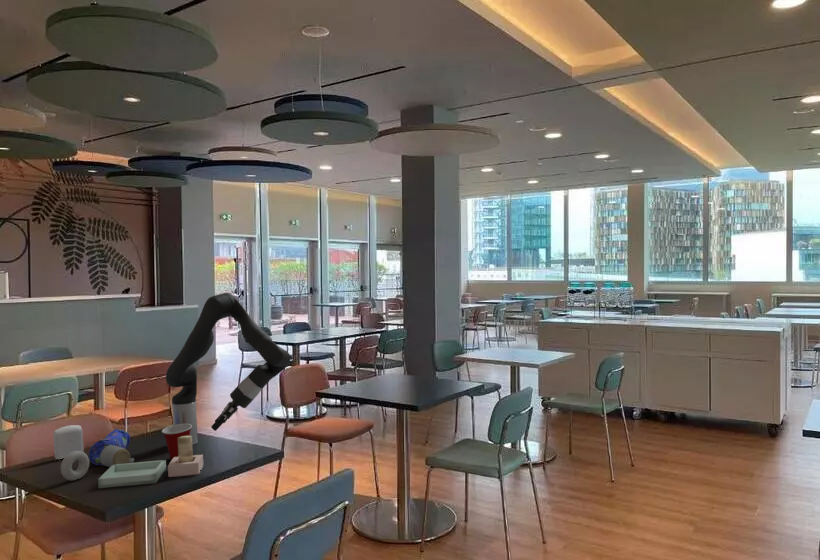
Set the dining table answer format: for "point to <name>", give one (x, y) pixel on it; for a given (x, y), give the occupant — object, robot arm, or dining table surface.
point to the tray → (132, 474)
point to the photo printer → (67, 440)
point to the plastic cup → (175, 437)
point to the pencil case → (113, 438)
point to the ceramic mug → (115, 456)
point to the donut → (68, 461)
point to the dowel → (185, 449)
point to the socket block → (185, 466)
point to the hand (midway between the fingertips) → (214, 426)
